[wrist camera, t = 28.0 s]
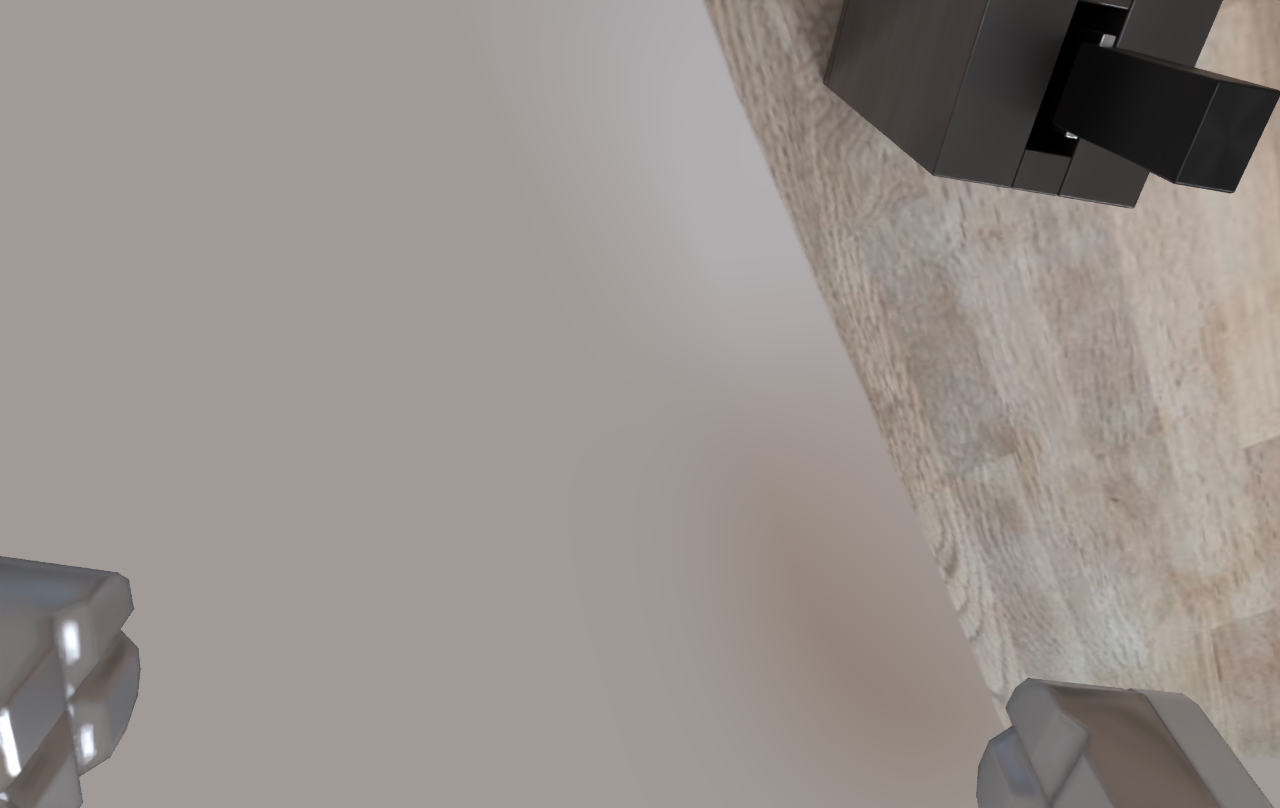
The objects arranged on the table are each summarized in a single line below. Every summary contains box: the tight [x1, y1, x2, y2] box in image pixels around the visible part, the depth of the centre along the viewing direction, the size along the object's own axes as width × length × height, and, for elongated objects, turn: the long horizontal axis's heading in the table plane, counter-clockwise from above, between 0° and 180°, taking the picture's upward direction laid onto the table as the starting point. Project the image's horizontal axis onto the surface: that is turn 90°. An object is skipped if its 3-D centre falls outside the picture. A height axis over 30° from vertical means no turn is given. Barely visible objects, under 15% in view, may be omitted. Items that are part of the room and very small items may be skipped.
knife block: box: [824, 0, 1223, 208], centre depth 36 cm, size 7×7×18 cm
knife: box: [1035, 25, 1280, 193], centre depth 32 cm, size 2×3×25 cm, turn 170°
